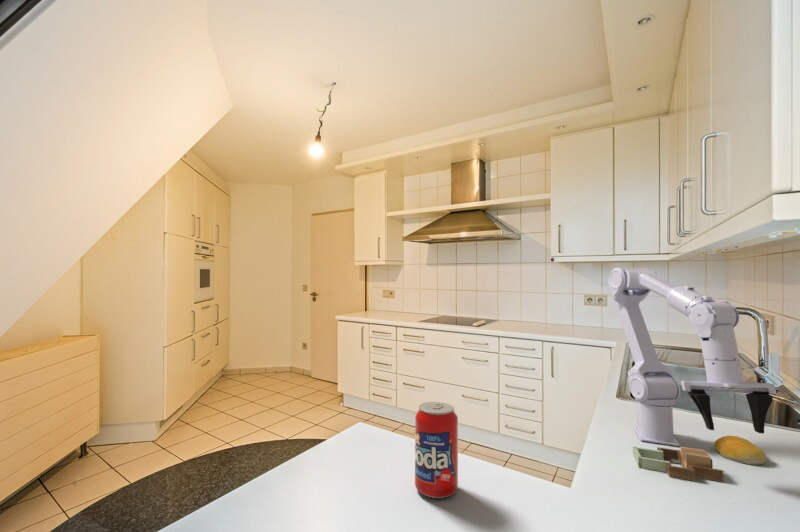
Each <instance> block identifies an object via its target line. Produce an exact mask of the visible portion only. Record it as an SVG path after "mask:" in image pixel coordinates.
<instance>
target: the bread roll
mask: <svg viewBox="0 0 800 532" xmlns="http://www.w3.org/2000/svg"><path fill="white" fill-rule="evenodd" d="M714 448H715V449H716V451H717V452H718V453H719V454H720V455H721V456H722V457H723V458H725V459H728V460H730V461H732V462H737V463H741V464H745V465H751V466H759V465H764V464H766V462H767V455H766V453H765V452H764V451H763V450H762V449H761V448H758V447H757V445H756V444H754V443H752V442H751V441H749V440H748V439H745V438H744V437H743V438H742V437H740V436H737V435H725V436H721V437H720V438H717V439H716V440H715V442H714Z"/></svg>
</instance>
